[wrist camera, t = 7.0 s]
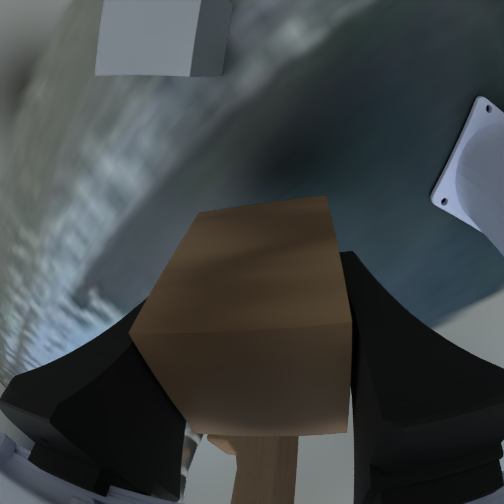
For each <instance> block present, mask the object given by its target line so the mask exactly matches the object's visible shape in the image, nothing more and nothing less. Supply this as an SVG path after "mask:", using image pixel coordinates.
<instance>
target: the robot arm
mask: <svg viewBox="0 0 504 504" xmlns="http://www.w3.org/2000/svg"><path fill="white" fill-rule="evenodd" d="M487 105H488V106H489V110H488V112H487V111H486V106H487ZM443 198H446V200H445V202H444V203H441V200H442V199H443ZM430 199H431V201H432V203H433V204H435V205H436V206H438V207H440V208H441V209H443V210H445V211H447V212H449V213H450V214H452V215H454V216H455V217H457V218H459V219H461V220H462V221H464V222H466V223H467V224H469V225H471V226H472V227H474V228H476V229H477V230H479V231H481V232H482V233H484V234H485V235H486V236H487V238H488V239H489V240H490V241H491V242H492V243H493V244H494V245H495V247H496V248H497V249H498V250H499V251H500V252H501V254H502V255H503V256H504V113H503V112H502V111H501V110H500V109H498V108H497V107H496V106H495V105H494V104H492V103H491V102H490V101H489V100H488V99H486V98H485V97H481V96H479V97H477V98H476V100H475V102H474V105H473V107H472V109H471V112H470V114H469V117H468V119H467V121H466V123H465V126H464V128H463V130H462V132H461V135H460V137H459V139H458V141H457V143H456V146H455V148H454V150H453V152H452V154H451V156H450V158H449V160H448V162H447V164H446V166H445V168H444V170H443V172H442V174H441V176H440V178H439V180H438V182H437V184H436V186H435V188H434V189H433V191H432V193H431V196H430ZM339 254H340V259H341V264H342V269H343V274H344V279H345V284H346V290H347V295H348V301H349V306H350V312H351V318H352V358H351V383H350V386H351V394H352V408H353V427H354V504H504V473H503V474H502V471H501V466H500V461H499V459H501V458H502V457H503V449H502V445H501V442H502V441H503V440H504V369H503V368H501V367H499V366H497V365H494V364H492V363H490V362H488V361H485V360H483V359H481V358H479V357H477V356H475V355H473V354H471V353H469V352H468V351H466V350H464V349H462V348H460V347H458V346H457V345H455V344H453V343H452V342H450V341H448V340H447V339H445V338H444V337H442V336H441V335H439V334H438V333H436V332H435V331H433V330H432V329H430V328H429V327H428V326H426V325H425V324H423V323H422V322H421V321H420V320H418V319H417V318H416V317H415V316H413V315H412V314H411V313H410V312H409V311H408V310H406V309H405V308H404V307H403V306H402V305H401V304H400V303H399V302H398V301H397V300H396V299H395V298H394V297H393V296H391V295H390V293H389V292H388V291H387V290H386V289H385V288H384V287H383V286H382V285H381V284H380V283H379V282H378V281H377V280H376V279H375V277H374V276H373V275H372V274H371V273H370V272H369V270H368V269H367V268H366V267H365V266H364V264H363V263H362V262H361V260H360V259H359V258H358V256H357V255H356V254H355V253H354V252H353V251H348V252H339ZM147 298H148V297H147ZM147 298H146V299H145V300H144V301H143V302H142V303H141V304H139V305H138V306H137V307H136V308H134V309H133V310H132V311H131V312H130V313H128V314H127V315H126V316H125V317H123V318H122V319H121V320H120V321H118V322H117V323H116V324H114V325H113V326H112V327H110V328H109V329H108V330H106V331H105V332H103V333H102V334H100V335H99V336H97V337H96V338H94V339H93V340H91V341H89V342H88V343H86V344H84V345H83V346H81V347H79V348H78V349H76V350H74V351H72V352H71V353H69V354H67V355H65V356H63V357H61V358H59V359H57V360H55V361H52V362H50V363H48V364H46V365H43V366H41V367H39V368H36V369H33V370H30V371H28V372H25V373H22V374H19V375H16V376H15V377H14V378H13V379H12V380H11V381H10V383H9V385H8V386H7V388H6V389H5V391H4V393H3V394H2V396H1V398H0V409H1V411H2V412H3V413H4V414H5V416H6V417H7V418H8V419H9V420H10V421H11V422H12V423H14V424H15V425H16V426H17V427H18V428H19V429H20V430H21V431H22V432H23V433H25V434H26V435H27V436H28V437H29V438H30V439H32V440H33V441H34V442H35V445H34V447H33V449H32V451H31V452H30V451H28V450H26V449H24V448H22V447H20V446H18V445H17V444H16V443H15V442H14V441H13V440H12V439H10V438H9V437H8V436H7V435H6V434H4V433H3V432H2V431H0V504H182V503H177V502H178V501H179V500H180V481H181V463H182V453H183V443H184V436H185V429H186V422H187V421H186V420H185V418H184V417H183V416H182V414H181V413H180V412H179V410H178V409H177V407H176V406H175V405H174V403H173V402H172V400H171V399H170V397H169V396H168V395H167V393H166V392H165V390H164V389H163V387H162V386H161V384H160V383H159V381H158V380H157V378H156V377H155V375H154V374H153V372H152V371H151V369H150V368H149V366H148V364H147V363H146V361H145V360H144V358H143V356H142V355H141V353H140V352H139V350H138V348H137V347H136V345H135V343H134V342H133V340H132V338H131V337H130V335H129V333H128V332H129V331H130V329H131V327H132V325H133V323H134V321H135V320H136V318H137V316H138V314H139V313H140V311H141V309H142V307H143V305H144V304H145V302H146V300H147Z"/></svg>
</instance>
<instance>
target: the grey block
mask: <svg viewBox="0 0 504 504" xmlns="http://www.w3.org/2000/svg"><path fill="white" fill-rule="evenodd" d="M232 11H233V4H232V3H231V2H230V0H104V5H103V11H102V17H101V24H100V31H99V39H98V48H97V58H96V69H95V76H104V75H164V76H184V77H197V76H222V73H223V66H224V59H225V53H226V47H227V40H228V34H229V28H230V22H231V16H232Z"/></svg>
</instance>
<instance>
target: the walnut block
mask: <svg viewBox="0 0 504 504" xmlns="http://www.w3.org/2000/svg"><path fill="white" fill-rule="evenodd" d="M128 333H129V335H130V337H131V338H132V340H133V342H134V343H135V345H136V347H137V348H138V350H139V352H140V353H141V355H142V356H143V358H144V360H145V361H146V363H147V364H148V366H149V368H150V369H151V371H152V372H153V374H154V375H155V377H156V378H157V380H158V381H159V383H160V384H161V386H162V387H163V389H164V390H165V392H166V393H167V395H168V396H169V397H170V399H171V400H172V402H173V403H174V405H175V406H176V407H177V409H178V410H179V412H180V413H181V414H182V416H183V417H184V418H185V420H186V421H187V422H188V424H189V425H190V426H191V428H192V429H193V430H194V432H195V433H201V434H214V435H231V436H305V435H323V434H336V433H346V432H347V427H348V415H349V400H350V383H351V358H352V318H351V312H350V306H349V301H348V295H347V290H346V284H345V279H344V274H343V269H342V264H341V259H340V254H339V249H338V245H337V240H336V235H335V231H334V226H333V222H332V218H331V213H330V209H329V205H328V201H327V197H326V195H325V196H316V197H308V198H300V199H292V200H284V201H276V202H269V203H261V204H254V205H247V206H240V207H233V208H227V209H220V210H214V211H207V212H201V213H199V214H198V215H197V217H196V219H195V220H194V222H193V223H192V225H191V226H190V228H189V230H188V231H187V233H186V234H185V236H184V238H183V239H182V241H181V243H180V244H179V246H178V248H177V249H176V251H175V252H174V254H173V256H172V257H171V259H170V261H169V262H168V264H167V266H166V267H165V269H164V271H163V273H162V274H161V276H160V278H159V279H158V281H157V283H156V284H155V286H154V288H153V290H152V291H151V293H150V295H149V297H148V298H147V300H146V302H145V304H144V305H143V307H142V309H141V311H140V313H139V314H138V316H137V318H136V320H135V321H134V323H133V325H132V327H131V329H130V331H129V332H128Z"/></svg>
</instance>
